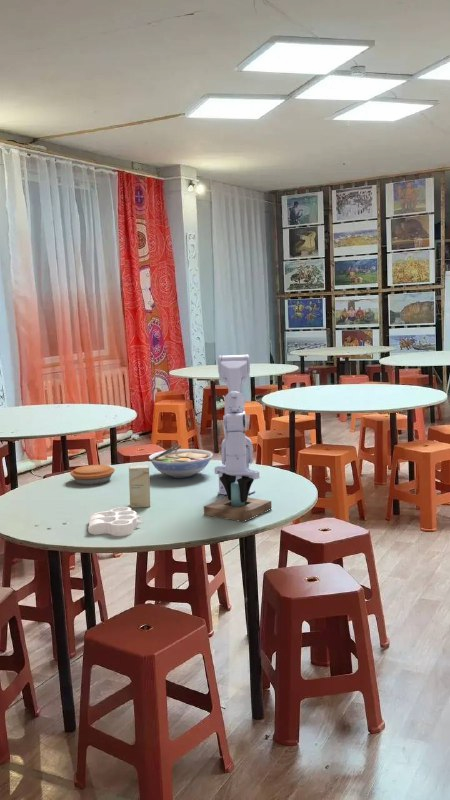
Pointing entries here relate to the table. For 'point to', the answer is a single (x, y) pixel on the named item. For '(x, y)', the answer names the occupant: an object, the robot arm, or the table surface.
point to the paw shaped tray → (114, 522)
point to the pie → (92, 474)
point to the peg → (236, 495)
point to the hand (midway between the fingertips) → (237, 500)
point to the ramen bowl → (180, 461)
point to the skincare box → (139, 486)
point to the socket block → (237, 509)
